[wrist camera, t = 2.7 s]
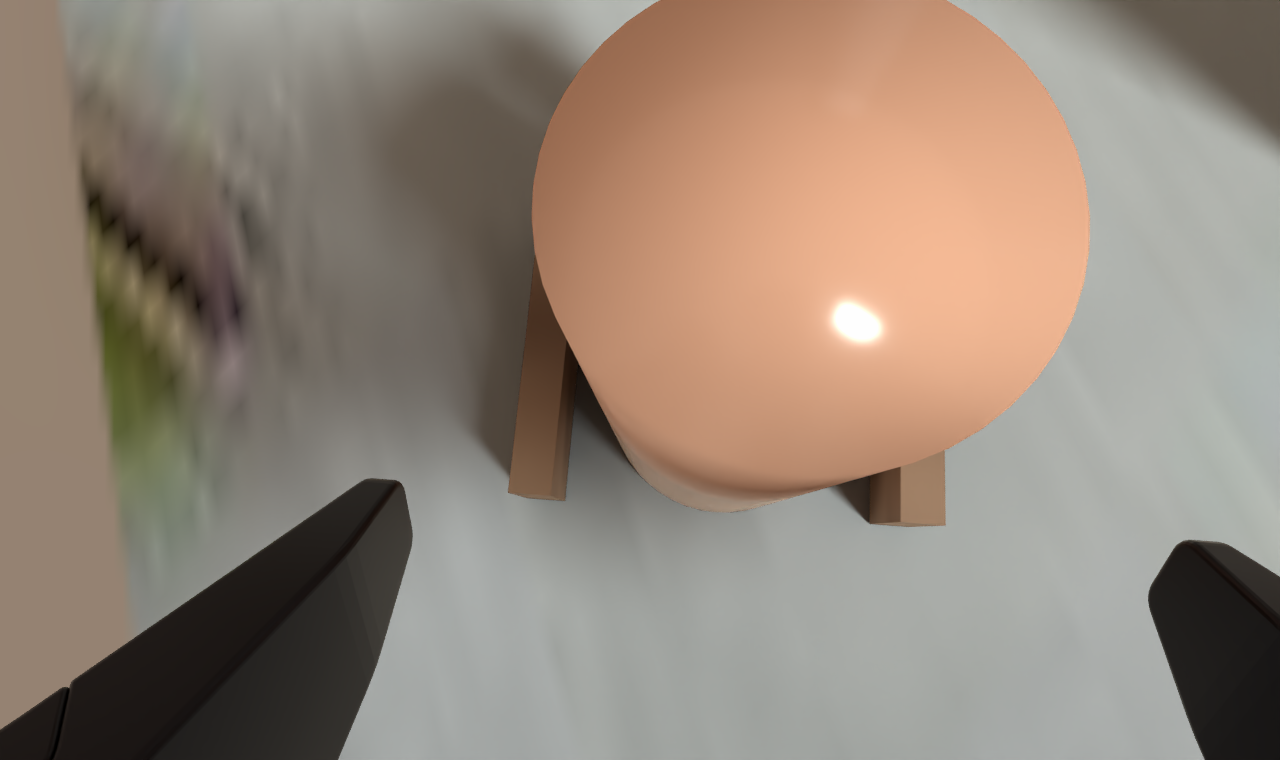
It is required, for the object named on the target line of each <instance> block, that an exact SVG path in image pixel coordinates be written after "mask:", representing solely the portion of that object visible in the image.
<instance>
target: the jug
mask: <svg viewBox="0 0 1280 760" xmlns="http://www.w3.org/2000/svg"><path fill="white" fill-rule="evenodd" d="M532 227H533V238H534V249H535V255H536V259H537V263H538V267H539V271H540V276H541V280H542V284H543V287H544V289H545V292H546V294H547V297H548V299H549V302H550V305H551V307H552V310H553V312H554V315H555V317H556V319H557V321H558V323H559V325H560V327H561V329H562V331H563V333H564V335H565V337H566V339H567V341H568V343H569V345H570V347H571V349H572V351H573V353H574V355H575V357H576V359H577V361H578V363H579V365H580V367H581V369H582V371H583V372H584V374H585V376H586V378H587V380H588V382H589V384H590V386H591V388H592V390H593V392H594V394H595V396H596V398H597V400H598V402H599V404H600V406H601V408H602V410H603V412H604V414H605V416H606V418H607V420H608V422H609V424H610V426H611V428H612V430H613V432H614V434H615V436H616V438H617V440H618V441H619V443H620V445H621V447H622V449H623V451H624V453H625V455H626V456H627V458H628V460H629V462H630V463H631V464H632V466H633V467H634V468H635V470H636V471H637V472H638V474H639V475H640V476H641V477H642V478H643V479H644V480H645V481H646V482H647V483H648V484H649V485H651V486H652V487H653V488H655V489H656V490H657V491H658V492H660V493H661V494H663V495H665V496H666V497H668V498H670V499H671V500H673V501H676V502H678V503H680V504H683V505H685V506H688V507H691V508H695V509H698V510H703V511H710V512H738V511H746V510H750V509H754V508H757V507H761V506H765V505H768V504H772V503H775V502H779V501H782V500H785V499H789V498H792V497H796V496H799V495H803V494H806V493H810V492H813V491H817V490H820V489H824V488H827V487H831V486H834V485H838V484H841V483H845V482H848V481H852V480H855V479H859V478H862V477H866V476H869V475H873V474H876V473H880V472H883V471H887V470H890V469H894V468H897V467H901V466H904V465H908V464H911V463H914V462H917V461H919V460H922V459H924V458H927V457H929V456H931V455H934V454H936V453H939V452H941V451H944V450H946V449H948V448H950V447H952V446H954V445H956V444H957V443H959V442H961V441H962V440H964V439H966V438H967V437H969V436H971V435H973V434H974V433H976V432H978V431H979V430H981V429H983V428H984V427H985V426H986V425H988V424H989V423H990V422H991V421H993V420H994V419H995V418H996V417H998V416H999V415H1000V414H1002V413H1003V412H1004V411H1005V410H1007V409H1008V408H1009V407H1010V406H1012V404H1013V403H1014V402H1015V401H1016V400H1017V399H1018V398H1019V397H1020V396H1021V395H1022V394H1023V393H1024V392H1025V391H1026V390H1027V389H1028V387H1029V386H1030V385H1031V384H1032V383H1033V382H1034V381H1035V380H1036V379H1037V378H1038V376H1039V375H1040V373H1041V372H1042V370H1043V369H1044V368H1045V366H1046V365H1047V363H1048V362H1049V360H1050V359H1051V357H1052V356H1053V355H1054V353H1055V352H1056V350H1057V349H1058V347H1059V345H1060V343H1061V341H1062V339H1063V337H1064V334H1065V332H1066V330H1067V328H1068V326H1069V324H1070V322H1071V320H1072V318H1073V316H1074V313H1075V309H1076V306H1077V303H1078V300H1079V297H1080V294H1081V291H1082V288H1083V285H1084V279H1085V273H1086V267H1087V261H1088V254H1089V233H1090V214H1089V206H1088V198H1087V190H1086V182H1085V179H1084V175H1083V171H1082V168H1081V164H1080V160H1079V157H1078V153H1077V149H1076V147H1075V145H1074V142H1073V140H1072V138H1071V135H1070V133H1069V131H1068V128H1067V126H1066V124H1065V121H1064V119H1063V117H1062V115H1061V114H1060V112H1059V110H1058V109H1057V107H1056V105H1055V104H1054V102H1053V100H1052V98H1051V97H1050V95H1049V93H1048V92H1047V90H1046V88H1045V87H1044V86H1043V85H1042V83H1041V82H1040V81H1039V80H1038V78H1037V77H1036V76H1035V74H1034V73H1033V72H1032V71H1031V69H1030V68H1029V67H1028V65H1027V64H1026V63H1025V62H1024V61H1023V60H1022V59H1021V58H1020V57H1019V56H1018V55H1017V54H1016V53H1015V52H1014V51H1013V50H1012V49H1011V48H1010V47H1009V46H1008V45H1007V44H1006V43H1005V42H1004V41H1003V40H1002V39H1001V38H1000V37H999V36H998V35H996V34H995V33H994V32H992V31H991V30H990V29H989V28H987V27H986V26H985V25H983V24H982V23H981V22H980V21H978V20H977V19H976V18H974V17H973V16H971V15H970V14H968V13H966V12H965V11H963V10H962V9H960V8H958V7H957V6H955V5H953V4H952V3H950V2H948V1H947V0H660V1H658V2H656V3H654V4H653V5H651V6H650V7H648V8H647V9H645V10H644V11H642V12H641V13H639V14H638V15H636V16H635V17H633V18H632V19H630V20H629V21H628V22H626V23H625V24H624V25H623V26H622V27H621V28H619V29H618V30H617V31H616V32H615V33H614V34H613V35H611V36H610V37H609V38H608V39H607V40H606V41H605V42H603V44H602V45H601V46H600V47H599V48H598V49H597V50H596V51H595V53H594V54H593V55H592V56H591V57H590V58H589V59H588V60H587V62H586V63H585V64H584V65H583V66H582V67H581V69H580V70H579V72H578V73H577V75H576V76H575V78H574V79H573V81H572V82H571V84H570V85H569V87H568V88H567V90H566V91H565V93H564V94H563V96H562V98H561V100H560V102H559V104H558V106H557V108H556V110H555V112H554V114H553V116H552V118H551V120H550V122H549V125H548V128H547V131H546V134H545V137H544V140H543V143H542V146H541V149H540V152H539V157H538V162H537V167H536V173H535V178H534V183H533V199H532Z"/></svg>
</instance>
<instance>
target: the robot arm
mask: <svg viewBox="0 0 1280 760" xmlns="http://www.w3.org/2000/svg"><path fill="white" fill-rule="evenodd" d="M412 538H413V533H412V525H411V520H410V515H409V510H408V505H407V500H406V495H405V490H404V487H403V485H402V484H401V483H400V482H399V481H396V480H388V479H374V478H370V479H365V480H363V481H361V482H360V483H358V484H357V485H355V486H354V487H352V488H351V489H349V490H348V491H347V492H345V493H344V494H342V495H341V496H339V497H338V498H336V499H335V500H333V501H332V502H331V503H329V504H328V505H326V506H325V507H323V508H322V509H320V510H319V511H318V512H316V513H315V514H313V515H312V516H310V517H309V518H307V519H306V520H304V521H303V522H302V523H300V524H299V525H297V526H296V527H294V528H293V529H291V530H290V531H289V532H287V533H286V534H284V535H283V536H281V537H280V538H278V539H277V540H276V541H274V542H273V543H271V544H270V545H268V546H267V547H265V548H264V549H262V550H261V551H260V552H258V553H257V554H255V555H254V556H252V557H251V558H249V559H248V560H247V561H245V562H244V563H242V564H241V565H239V566H238V567H236V568H235V569H233V570H232V571H231V572H229V573H228V574H226V575H225V576H223V577H222V578H220V579H219V580H218V581H216V582H215V583H213V584H212V585H210V586H209V587H207V588H206V589H205V590H203V591H202V592H200V593H199V594H197V595H196V596H194V597H193V598H191V599H190V600H189V601H187V602H186V603H184V604H183V605H181V606H180V607H178V608H177V609H176V610H174V611H173V612H171V613H170V614H168V615H167V616H165V617H164V618H162V619H161V620H160V621H158V622H157V623H155V624H154V625H152V626H151V627H149V628H148V629H147V630H145V631H144V632H142V633H141V634H139V635H138V636H136V637H135V638H134V639H132V640H131V641H129V642H128V643H126V644H125V645H123V646H122V647H120V648H119V649H118V650H116V651H115V652H113V653H112V654H110V655H109V656H108V657H106V658H105V659H103V660H102V661H100V662H99V663H97V664H96V665H94V666H93V667H91V668H90V669H89V670H87V671H86V672H84V673H83V674H82V675H80V676H78V677H77V678H76V679H74V680H73V681H72V682H71V684H70V688H68V687H63V688H61V689H59V690H58V691H56V692H55V693H54V694H52V695H50V696H49V697H48V698H46V699H45V700H43V701H42V702H40V703H39V704H37V705H36V706H35V707H33V708H32V709H30V710H29V711H27V712H26V713H24V714H23V715H21V716H20V717H19V718H17V719H16V720H14V721H13V722H11V723H10V724H8V725H7V726H5V727H4V728H2V729H1V730H0V760H338V759H339V756H340V754H341V751H342V749H343V747H344V744H345V742H346V739H347V737H348V735H349V732H350V730H351V727H352V725H353V723H354V720H355V718H356V715H357V713H358V711H359V708H360V706H361V703H362V701H363V699H364V696H365V694H366V691H367V689H368V687H369V684H370V681H371V679H372V676H373V674H374V671H375V668H376V666H377V662H378V659H379V656H380V653H381V650H382V647H383V643H384V640H385V636H386V633H387V630H388V626H389V623H390V619H391V616H392V612H393V609H394V606H395V602H396V599H397V595H398V592H399V588H400V585H401V582H402V578H403V575H404V571H405V568H406V564H407V561H408V557H409V554H410V550H411V546H412ZM1148 602H1149V608H1150V612H1151V615H1152V618H1153V621H1154V623H1155V626H1156V629H1157V632H1158V635H1159V638H1160V641H1161V643H1162V646H1163V649H1164V652H1165V655H1166V658H1167V661H1168V663H1169V666H1170V669H1171V672H1172V675H1173V678H1174V681H1175V683H1176V686H1177V689H1178V692H1179V695H1180V698H1181V701H1182V704H1183V706H1184V709H1185V712H1186V715H1187V718H1188V720H1189V723H1190V726H1191V728H1192V731H1193V733H1194V736H1195V739H1196V741H1197V743H1198V745H1199V748H1200V750H1201V752H1202V755H1203V757H1204V759H1205V760H1280V577H1279V576H1278V575H1276V574H1275V573H1273V572H1271V571H1270V570H1268V569H1267V568H1265V567H1263V566H1262V565H1260V564H1259V563H1257V562H1255V561H1254V560H1252V559H1250V558H1249V557H1247V556H1246V555H1244V554H1242V553H1241V552H1239V551H1238V550H1236V549H1234V548H1233V547H1231V546H1229V545H1227V544H1224V543H1221V542H1213V541H1200V540H1185V541H1182V542H1181V543H1179V544H1178V545H1176V546H1175V548H1174V549H1173V551H1172V552H1171V554H1170V556H1169V557H1168V559H1167V560H1166V562H1165V564H1164V565H1163V567H1162V568H1161V570H1160V572H1159V573H1158V575H1157V577H1156V578H1155V580H1154V581H1153V583H1152V585H1151V587H1150V590H1149V595H1148Z"/></svg>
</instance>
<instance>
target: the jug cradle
mask: <svg viewBox="0 0 1280 760" xmlns="http://www.w3.org/2000/svg"><path fill="white" fill-rule="evenodd" d="M577 371H578V361H577V359H576V357H575V355H574V353H573V351H572V349H571V347H570V345H569V343H568V341H567V339H566V337H565V335H564V333H563V331H562V329H561V327H560V325H559V323H558V321H557V319H556V317H555V315H554V312H553V310H552V307H551V305H550V302H549V299H548V297H547V294H546V292H545V289H544V287H543V284H542V280H541V276H540V271H539V267H538V263H537V259H536V255H535V258H534V267H533V276H532V284H531V293H530V302H529V311H528V320H527V329H526V338H525V346H524V355H523V364H522V373H521V382H520V391H519V400H518V409H517V417H516V426H515V435H514V444H513V453H512V462H511V471H510V479H509V488H508V493H511V494H515V495H518V496H522V497H526V498H533V499H546V500H560V501H565V496H566V485H567V475H568V464H569V454H570V444H571V433H572V423H573V412H574V402H575V392H576V381H577ZM870 524H878V525H891V526H905V527H916V526H943V525H945V452H944V451H941V452H939V453H936V454H934V455H931V456H929V457H927V458H924V459H922V460H919V461H917V462H914V463H911V464H908V465H904V466H901V467H897V468H894V469H890V470H887V471H883V472H880V473H876V474H873V475H870Z"/></svg>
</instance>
